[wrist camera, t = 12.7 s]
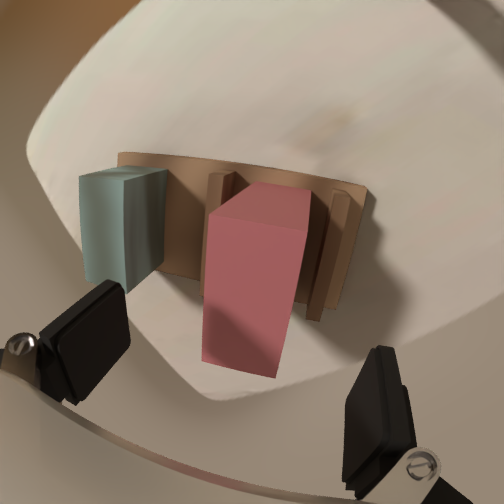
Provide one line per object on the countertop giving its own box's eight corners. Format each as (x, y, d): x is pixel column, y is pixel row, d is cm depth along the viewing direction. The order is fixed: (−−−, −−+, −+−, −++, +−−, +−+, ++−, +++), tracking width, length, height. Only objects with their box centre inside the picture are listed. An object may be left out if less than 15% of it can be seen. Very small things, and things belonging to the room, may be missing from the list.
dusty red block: (311, 190, 21) (307, 231, 11) (292, 289, 24) (275, 378, 15) (256, 181, 21) (209, 214, 12) (243, 280, 24) (201, 360, 15)
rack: (364, 186, 21) (386, 206, 14) (335, 302, 25) (338, 357, 18) (125, 151, 24) (69, 161, 17) (125, 255, 27) (78, 288, 21)
